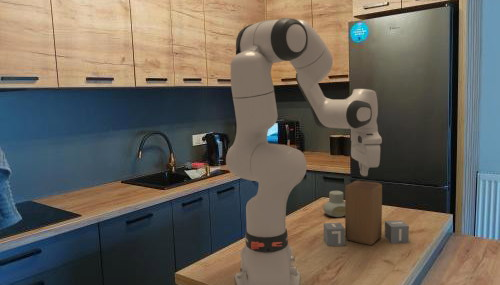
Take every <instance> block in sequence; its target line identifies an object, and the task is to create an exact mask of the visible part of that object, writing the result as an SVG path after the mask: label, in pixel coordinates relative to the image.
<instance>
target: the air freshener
mask: <svg viewBox="0 0 500 285" xmlns="http://www.w3.org/2000/svg"><path fill="white" fill-rule="evenodd" d="M328 195H329V196H328V200H329V201H326V202H325V203H324V204H323V208H322V209H323V212H324V213H325V214H326V215H327V216H330V217H333V218H342V217H345V201H344V199H345V197H344V192H343V191H341V190H331V191H329V194H328Z"/></svg>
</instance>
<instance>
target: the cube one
mask: <svg viewBox="0 0 500 285" xmlns="http://www.w3.org/2000/svg"><path fill="white" fill-rule="evenodd" d="M409 228H410V226H409V225H408V224H407V223H406V222H404V221H403V220H399V219H398V220H385V221H384V238H385V239H386V240H387V241H388V242H389V243H390V244H407V243H409V241H410V239H409V237H410V236H409V235H410V234H409V231H410V229H409Z"/></svg>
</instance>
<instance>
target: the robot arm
mask: <svg viewBox="0 0 500 285" xmlns="http://www.w3.org/2000/svg"><path fill="white" fill-rule="evenodd" d="M333 61H334V60H333V56H332V53H331V51H330V49H329V48H328V47H327V45H326V43H325V42H324V40H323V39H322V37H321V36H320V34H319V33H318V32H317V30H316V29H314V27H313V26H312V25H311V24H309V23H308V21H306V20H304V19H295V18H291V17H281V18H280V19H266V20H262V21H258V22H257V23H252V24H251V23H250V24H248V25H246V26H245V27H243V28H242V29H241V30H240V31H239V32H238V34H237V37H236V41H235V55H234V57H232V59H231V61H230V86H231V88H230V89H231V94H232V101H233V106H234V107H233V108H234V113H235V114H234V115H235V120H236V121H235V122H236V129H235V130H236V134H235V138H234V142H233V144H232V145H231V146H230V147H229V149H228V150H227V153H226V155H225V156H226V157H225V164H226V167H227V169H228V171H229V172H230V173H231V174H233V175H235V176H236V177H238V178H241V179H242V180H247V181H253V182H257V183H258V189H257V193H256V195H254V196H252V197H251V198H250V199H249V200H248V201H247V203H246V206H245V216H246V217H245V218H246V220H245V221H246V222H245V223H246V229H245V232H244V233H245V234H244V240H245V241H244V242H245V245H244V246H243V247H242V249H240V271H239V272H237V273H236V274H234V281H235V284H236V285H301V272H300V271H298V267H297V266H296V265H295V266H293V264H294V263H293V262H295V261H296V260H295V259H296V258H295V257H296V256H293V247H292V246H290V245H289V240H288V239H289V234H288V230H287V226H286V222H287V221H286V220H287V218H286V216H287V214H286V213H287V202H288V198H289V195H290V194H291V192H292V190H293V189H294V187H296V186H297V185H299V184H300V183H301V182H302V180H303V179H304V178H305V175H306V173H307V164H308V163H307V159H306V156H305V154H304V153H303V152H302V151H301V150H300V149H297V148H295V147H292V146H289V145H287V144H279V143H270V142H268V133H269V129H271V128H273V127H274V125H275V124H276V123H277V121H278V117H279V115H278V109H277V102H276V94H275V86H274V83H273V79H272V67H273V64H275V63H277V64H278V63H281V62H289V63H290V64H291V65H292V67H293V68H294V70H295V79H296V84H297V86H298V88H299V90H300V92H301V93H302V96H303V98H304V99H305V101H306V103H307V104H308V106H309V109H310V111H311V114H312V117H313V120H314V122H315V124H316V125H317V126H318V127H319V128H321V129H346V130H348V129H350V141H351V144H350V145H351V146H350V156H351V158H352V159H354V161H357V162H358V167H359V173H360V175H361V176H362V177H368V175H369V170H370V168H378V167H379V166H380V163H381V162H380V161H381V144H382V143H383V140H382V136H381V135H380V134H379V130H378V128H379V127H378V123H377V122H378V121H377V119H378V115H379V114H378V113H379V112H378V109H379V103H378V97H377V92H376V91H375V90H373V89H371V88H365V87H361V88H359V87H358V88H354V89H352V94H351V95H349V96H348V97H346V98H344V99H331V98H328V97H326V96H325V95H324V93H323V91H322V89H321V87H320V85H319V83H321V82H322V81H324V79H325V78H327V76H328V75H329V73H330V72H331V70H332V67H333Z"/></svg>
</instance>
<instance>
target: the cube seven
mask: <svg viewBox="0 0 500 285" xmlns="http://www.w3.org/2000/svg"><path fill="white" fill-rule="evenodd" d="M323 241H324V242H325V244H326V246H327V247H333V246H336V247H337V246H338V247H339V246H346V238H345V226H343V224H342V223H341V222H327V223H326V222H325V223H323Z"/></svg>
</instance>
